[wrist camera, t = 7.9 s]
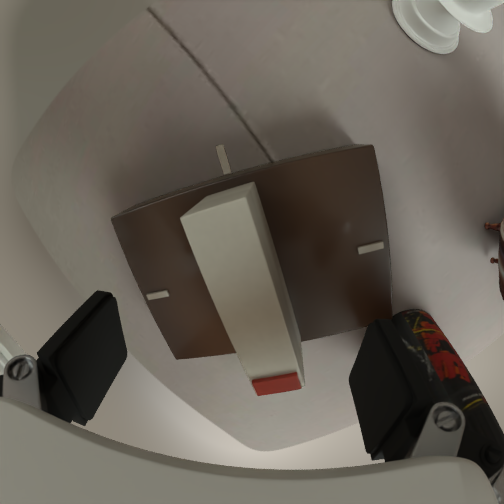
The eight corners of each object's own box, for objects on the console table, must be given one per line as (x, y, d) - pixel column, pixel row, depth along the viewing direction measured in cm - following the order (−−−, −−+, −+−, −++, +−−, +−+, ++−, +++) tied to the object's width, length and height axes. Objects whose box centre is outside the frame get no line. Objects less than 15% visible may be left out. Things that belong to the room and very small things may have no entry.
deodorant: (354, 347, 19) (398, 537, 5) (412, 295, 17) (517, 473, 4) (392, 376, 20) (438, 526, 7) (444, 332, 18) (523, 474, 5)
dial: (205, 196, 13) (176, 219, 9) (254, 181, 13) (245, 198, 9) (260, 344, 16) (255, 398, 12) (300, 335, 16) (305, 390, 12)
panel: (195, 349, 20) (184, 377, 18) (125, 182, 16) (98, 191, 13) (379, 313, 18) (393, 340, 15) (349, 117, 14) (367, 111, 11)
